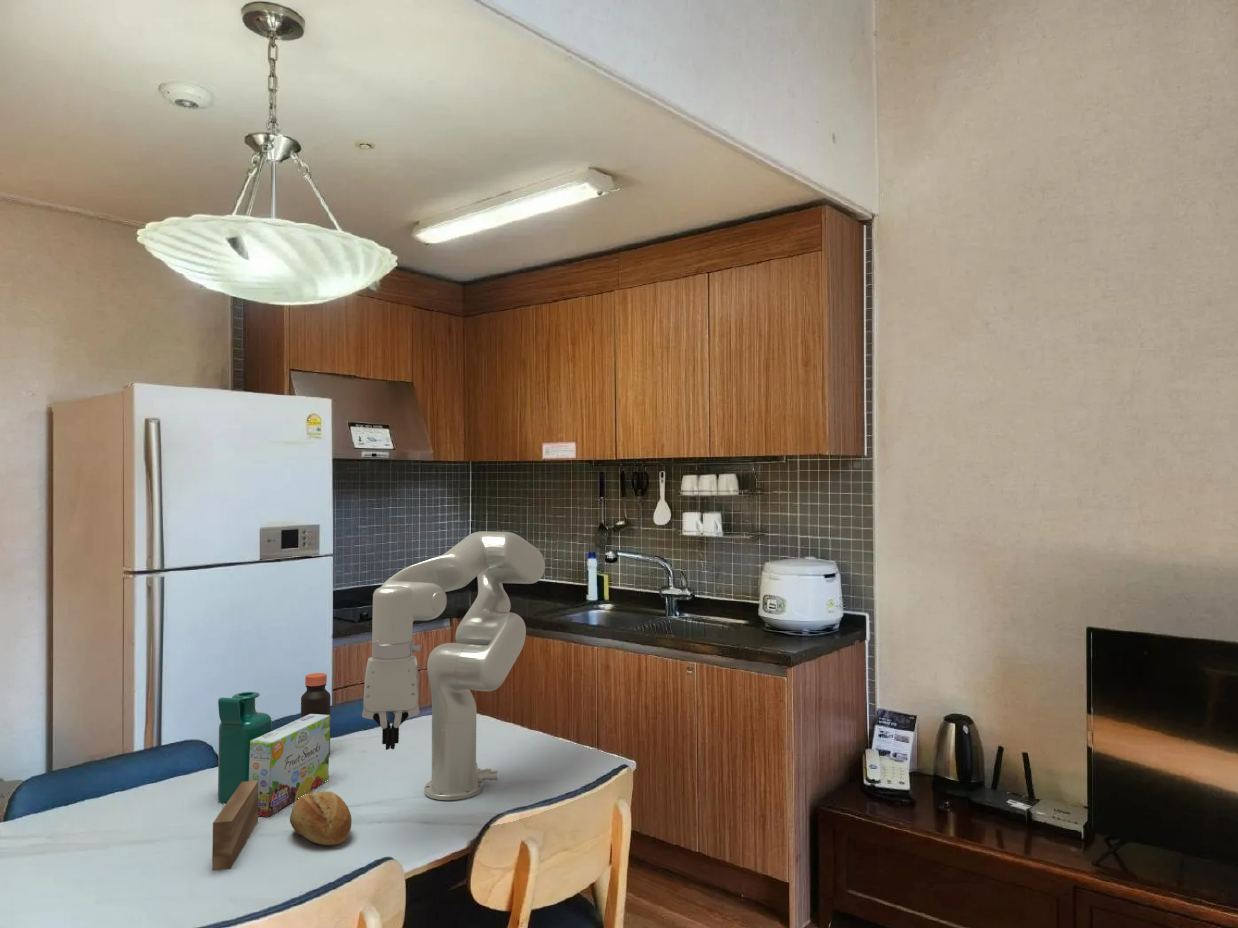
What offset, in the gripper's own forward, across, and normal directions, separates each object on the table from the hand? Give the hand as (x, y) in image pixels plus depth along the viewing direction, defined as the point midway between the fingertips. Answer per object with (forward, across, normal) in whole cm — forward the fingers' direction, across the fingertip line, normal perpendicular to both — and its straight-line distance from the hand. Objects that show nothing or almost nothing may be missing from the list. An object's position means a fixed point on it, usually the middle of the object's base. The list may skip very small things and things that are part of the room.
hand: (390, 747), depth 151 cm
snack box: (+16, +22, -23) cm, 35 cm away
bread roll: (+16, +12, -1) cm, 21 cm away
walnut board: (+16, +27, -1) cm, 31 cm away
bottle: (+15, +21, -49) cm, 55 cm away
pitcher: (+16, +32, -25) cm, 43 cm away
